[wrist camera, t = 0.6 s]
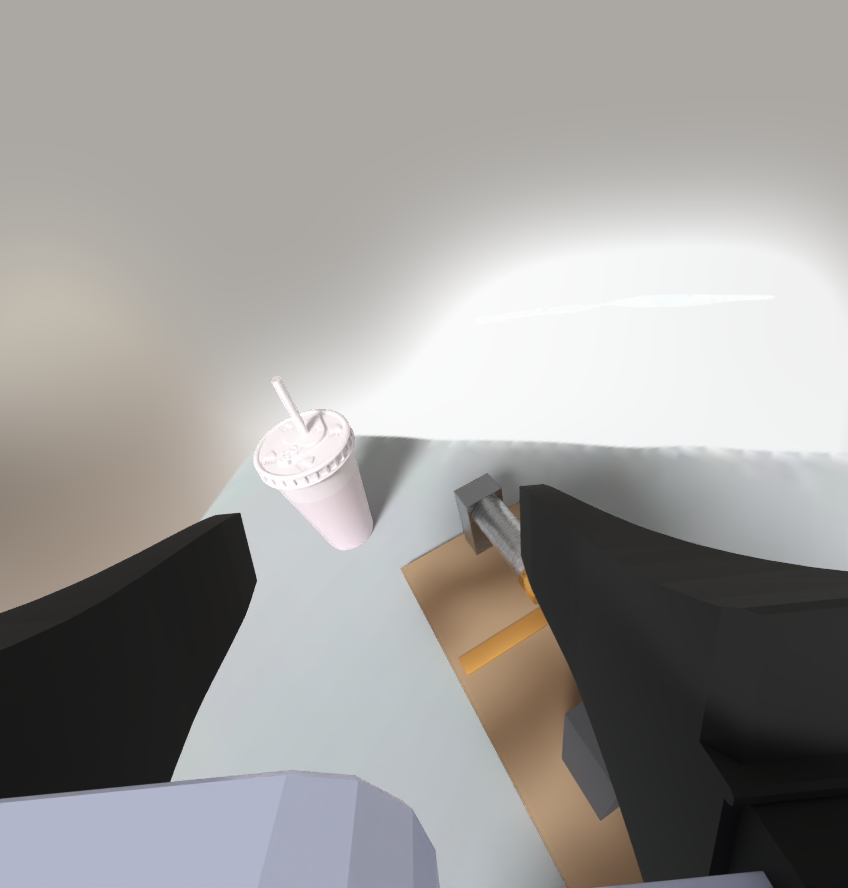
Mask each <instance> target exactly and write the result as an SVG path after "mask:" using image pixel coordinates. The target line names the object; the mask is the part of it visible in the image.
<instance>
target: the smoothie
mask: <svg viewBox="0 0 848 888" xmlns="http://www.w3.org/2000/svg"><path fill="white" fill-rule="evenodd" d="M271 382H272V384H273V386H274V388H275V389H276V391H277V393H278V395H279V397H280V398H281V400H282V402H283V404H284V406H285V408H286V409H287V411H288V413H289V415H290V417H289V418H287V419H285V420H283V421H281V422H280V423H278V424H277V425H275V426H274V427H273V428H272V429H270V430H269V431H268V432H267V433H266V434H265V435H264V436H263V438H262V439H261V441H260V442H259V443H258V445H257V447H256V450H255V452H254V459H253V461H254V466H255V468H256V470H257V471H258V472H259V474H260V477H261V479H262V481H264V482H265V483H266V484H267V485H269V486H270V487H273V488H276V489H278V490H279V491H280V492H281V493H282V494H283V495H284V496H285V497H286V498H287V499H288V500H289V501H290V502H291V503H292V504H293V505H294V506H295V507H296V508H297V509H298V510H299V512H300V513H301V514H302V515H303V516H304V517H305V518H306V519H307V520H308V521H309V522H310V523H311V524H312V525H313V526H314V527H315V528H316V529H317V530H318V531H319V533H320V534H321V535H322V536H323V537H324V538H325V539H326V540H327V541H328V542H329V543H330V544H331V545H332V546H333V547H335V548H337V549H340V550H350V549H353V548H356V547H358V546H360V545H361V544H363V543H364V542H365V541H366V540H367V539H368V538H369V536H370V535H371V533H372V530H373V520H372V516H371V512H370V509H369V505H368V501H367V498H366V494H365V490H364V487H363V483H362V479H361V476H360V472H359V468H358V465H357V461H356V456H355V453H354V450H353V448H354V441H355V437H354V433H353V430H352V429H351V428H350V426H349V423H348V421H347V420H346V418H345V417H344V416H343V415H341V414H340V413H338V412H335V411H332V410H326V409H324V410H323V409H317V410H309V411H305V412H301V413H299V412H298V410H297V408H296V406H295V404H294V403H293V401H292V399H291V397H290V395H289V393H288V391H287V389H286V387H285V385H284V384H283V382H282V380H281V378H280V377H274V378H273V379H272V380H271Z"/></svg>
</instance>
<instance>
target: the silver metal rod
mask: <svg viewBox="0 0 848 888" xmlns="http://www.w3.org/2000/svg"><path fill="white" fill-rule="evenodd" d="M454 494H455V498H456V502H457V506H458V510H459V514H460V519H461V523H462V527H463V531H464V535H465V539H466V540H467V542H468V543H469V545H470V546H471V547H472V549H473V550H474V552H475V553H476V555H478V554H480V553H482V552H484V551H485V550H487V549H489V548H491V547H492V546H494V547H495V548H496V550H497V551H498V552H499V554H500V555H501V556H502V557H503V559H504V560H505V561H506V563H507V564H508V565H509V567H510V568H511V569H512V570H513V572H514V573H515V574H516V576H517V577H518V578H519V579H518V582H519V584H520V586H521V587H522V588H523V590H524V591H525V592H526V594H527V595H528V596H529V598H530V599H531V600H532V601H533V603H534V604H537V605H539V604H538V601H537V599H536V597H535V595H534V593H533V591H532V589H531V586H530V583H529V580H528V577H527V574H526V571H525V568H524V565H523V561H522V558H521V545H520V522H519V520H518V519H517V518H516V517H515V516H514V515H513V514H512V512H511V511H510V510H509V509H508V508H507V507H506V506H505V504H504V503H503V499H502V491H501V488H500V487H499V485H498V484H497V483H496V482H495V481H494V480H493V479H492V478H491V477H490V476H489V474H488V473H487V474H485V475H483V476H481V477H479V478H477V479H476V480H474V481H472V482H470V483H468V484H466V485H464V486H463V487H461V488H459V489H457V490H455V491H454Z"/></svg>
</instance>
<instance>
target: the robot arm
mask: <svg viewBox="0 0 848 888" xmlns="http://www.w3.org/2000/svg"><path fill="white" fill-rule="evenodd" d="M520 545H521V558H522V561H523V565H524V568H525V571H526V574H527V577H528V580H529V583H530V586H531V589H532V591H533V593H534V595H535V597H536V599H537V601H538V604H539V606H540V608H541V610H542V612H543V614H544V616H545V618H546V620H547V622H548V624H549V626H550V628H551V630H552V632H553V635H554V637H555V639H556V641H557V643H558V645H559V647H560V649H561V651H562V653H563V655H564V657H565V659H566V661H567V663H568V665H569V668H570V670H571V672H572V675H573V677H574V679H575V682H576V684H577V687H578V689H579V692H580V695H581V698H582V700H583V703H584V706H585V709H586V711H587V714H588V717H589V719H590V722H591V725H592V728H593V731H594V734H595V736H596V739H597V742H598V745H599V748H600V751H601V754H602V757H603V759H604V762H605V765H606V768H607V771H608V774H609V777H610V780H611V783H612V786H613V789H614V792H615V795H616V798H617V801H618V804H619V807H620V810H621V813H622V816H623V819H624V822H625V825H626V828H627V831H628V834H629V838H630V841H631V844H632V847H633V850H634V853H635V857H636V860H637V863H638V866H639V869H640V873H641V876H642V879H643V882H644V883H638V884H628V885H618V886H608V887H598V888H848V571H840V570H831V569H822V568H814V567H807V566H801V565H795V564H788V563H782V562H776V561H770V560H764V559H759V558H754V557H749V556H744V555H739V554H734V553H730V552H726V551H722V550H718V549H713V548H709V547H705V546H701V545H697V544H694V543H690V542H686V541H683V540H679V539H676V538H673V537H670V536H667V535H664V534H660V533H657V532H654V531H651V530H648V529H646V528H643V527H640V526H637V525H635V524H632V523H630V522H627V521H625V520H622V519H620V518H618V517H615V516H613V515H610V514H608V513H606V512H604V511H601V510H599V509H597V508H595V507H593V506H591V505H588V504H586V503H584V502H582V501H580V500H578V499H576V498H574V497H572V496H570V495H568V494H566V493H563V492H561V491H559V490H557V489H555V488H552V487H550V486H547V485H544V484H540V485H530V486H520ZM256 582H257V578H256V574H255V570H254V566H253V562H252V558H251V554H250V550H249V546H248V542H247V538H246V534H245V530H244V526H243V522H242V518H241V514H240V513H232V514H222V515H215V516H212V517H209V518H207V519H204V520H202V521H200V522H198V523H196V524H194V525H192V526H189V527H188V528H186V529H184V530H182V531H180V532H178V533H176V534H174V535H172V536H170V537H168V538H166V539H164V540H162V541H161V542H159V543H157V544H155V545H153V546H151V547H149V548H147V549H145V550H143V551H142V552H140V553H138V554H136V555H133V556H132V557H130V558H127V559H125V560H123V561H121V562H120V563H117V564H115V565H113V566H111V567H109V568H108V569H106V570H103V571H101V572H99V573H97V574H95V575H93V576H91V577H89V578H87V579H84V580H82V581H80V582H77V583H75V584H73V585H71V586H69V587H66V588H64V589H61V590H59V591H56V592H54V593H52V594H50V595H47V596H44V597H42V598H40V599H37V600H35V601H32V602H30V603H27V604H24V605H22V606H19V607H16V608H13V609H11V610H8V611H5V612H2V613H0V888H440V885H439V877H438V869H437V860H436V852H435V849H434V847H433V845H432V843H431V842H430V840H429V838H428V836H427V834H426V833H425V831H424V829H423V827H422V825H421V824H420V822H419V820H418V818H417V816H416V815H415V813H414V811H413V809H411V808H410V807H409V806H408V805H407V804H406V803H404V802H403V801H402V800H400V799H398V798H396V797H395V796H393V795H391V794H389V793H387V792H385V791H383V790H381V789H379V788H378V787H376V786H374V785H372V784H370V783H368V782H366V781H364V780H362V779H361V778H359V777H357V776H355V775H344V774H333V773H321V772H309V771H298V770H288V771H278V772H268V773H258V774H248V775H238V776H228V777H217V778H207V779H197V780H187V781H177V782H170V781H171V778H172V775H173V772H174V770H175V767H176V764H177V762H178V759H179V757H180V754H181V752H182V749H183V746H184V744H185V741H186V739H187V736H188V734H189V731H190V728H191V726H192V723H193V721H194V719H195V716H196V714H197V712H198V710H199V708H200V705H201V703H202V701H203V699H204V697H205V695H206V693H207V691H208V689H209V687H210V685H211V683H212V681H213V679H214V677H215V675H216V673H217V671H218V669H219V668H220V666H221V664H222V662H223V660H224V658H225V656H226V654H227V652H228V650H229V648H230V646H231V644H232V642H233V640H234V638H235V636H236V634H237V632H238V630H239V628H240V626H241V624H242V622H243V620H244V618H245V615H246V613H247V610H248V607H249V604H250V601H251V598H252V595H253V592H254V589H255V585H256Z"/></svg>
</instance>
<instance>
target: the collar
mask: <svg viewBox="0 0 848 888" xmlns="http://www.w3.org/2000/svg"><path fill="white" fill-rule="evenodd" d="M562 760H563V761H564V763H565V765H566V766H567V768H568V770H569V771H570V773H571V774H572V776H573V778H574V779H575V781H576V782H577V784H578V786H579V787H580V789H581V791H582V792H583V794H584V795H585V797H586V799H587V800H588V802H589V803H590V805H591V807H592V808H593V810H594V811H595V813H596V815H597V816H598V818H599V820H600V821H601V820H603V819H604V818H605V817H607V816H608V815H609V814H610V813H612V812H613V811H614V810H616V809H617V808H618V807H619V804H618V801H617V798H616V795H615V792H614V789H613V786H612V783H611V780H610V777H609V774H608V771H607V768H606V765H605V762H604V759H603V757H602V754H601V751H600V748H599V745H598V742H597V739H596V736H595V734H594V731H593V728H592V725H591V722H590V719H589V717H588V714H587V711H586V709H585V706H584V703H583V702H581V703H580V704H578V705H577V706H575V707H574V708H573V709H571V710H570V711H568V712H567V713H565V720H564V733H563V747H562Z"/></svg>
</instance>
